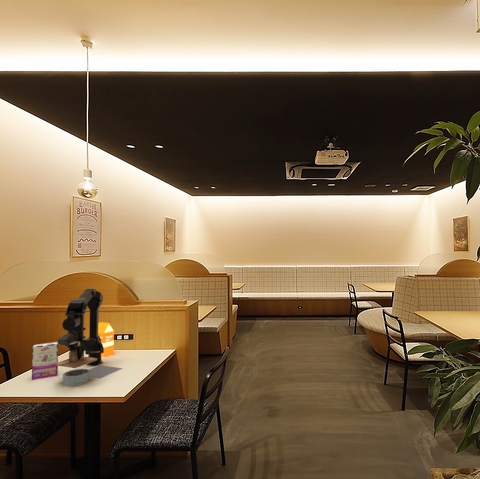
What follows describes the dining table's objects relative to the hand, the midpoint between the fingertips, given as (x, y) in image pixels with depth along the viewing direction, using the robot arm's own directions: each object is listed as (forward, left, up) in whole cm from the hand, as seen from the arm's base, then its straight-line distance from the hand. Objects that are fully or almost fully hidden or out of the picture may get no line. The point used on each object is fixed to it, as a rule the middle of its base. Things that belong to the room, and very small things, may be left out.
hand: (76, 359), depth 156 cm
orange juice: (-22, +40, -11) cm, 47 cm away
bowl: (0, 0, -11) cm, 11 cm away
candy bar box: (-21, 0, -11) cm, 24 cm away
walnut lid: (0, 0, -2) cm, 2 cm away
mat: (0, +15, -11) cm, 18 cm away
